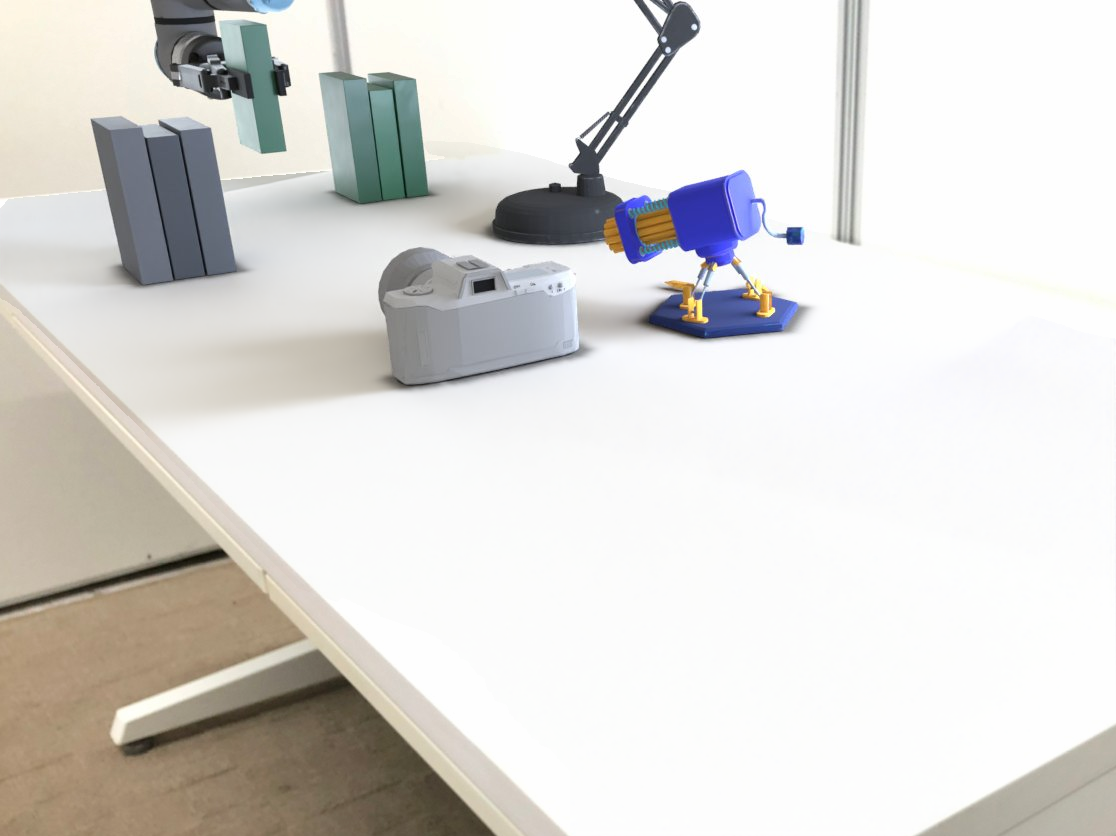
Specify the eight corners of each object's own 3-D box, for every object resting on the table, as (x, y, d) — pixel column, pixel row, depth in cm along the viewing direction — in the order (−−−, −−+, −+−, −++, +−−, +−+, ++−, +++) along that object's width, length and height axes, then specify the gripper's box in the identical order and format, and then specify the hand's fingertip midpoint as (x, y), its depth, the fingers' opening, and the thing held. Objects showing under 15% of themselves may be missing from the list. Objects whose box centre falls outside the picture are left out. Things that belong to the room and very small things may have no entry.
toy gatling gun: (701, 276, 129) (698, 144, 124) (842, 310, 118) (846, 167, 112) (590, 306, 120) (582, 165, 114) (732, 347, 109) (731, 193, 103)
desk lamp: (394, 238, 145) (334, -233, 125) (546, 197, 164) (516, -217, 144) (564, 266, 133) (528, -250, 113) (706, 218, 152) (698, -229, 132)
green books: (335, 191, 168) (318, 72, 162) (402, 183, 173) (388, 67, 166) (359, 203, 162) (342, 80, 155) (429, 194, 166) (415, 74, 160)
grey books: (122, 266, 134) (90, 118, 128) (213, 253, 139) (186, 110, 132) (142, 285, 128) (109, 130, 121) (237, 271, 132) (210, 121, 126)
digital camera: (535, 359, 118) (550, 247, 115) (587, 400, 107) (605, 278, 103) (346, 342, 111) (357, 223, 107) (380, 385, 99) (392, 252, 96)
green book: (239, 143, 160) (217, 20, 153) (264, 141, 161) (243, 19, 155) (261, 154, 153) (239, 25, 147) (286, 151, 154) (266, 24, 148)
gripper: (279, 91, 173) (339, 112, 155) (151, 102, 165) (199, 125, 147) (269, 30, 169) (329, 45, 152) (138, 38, 161) (186, 54, 144)
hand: (265, 84), depth 150 cm, fingers closed on green book, 3 cm apart
